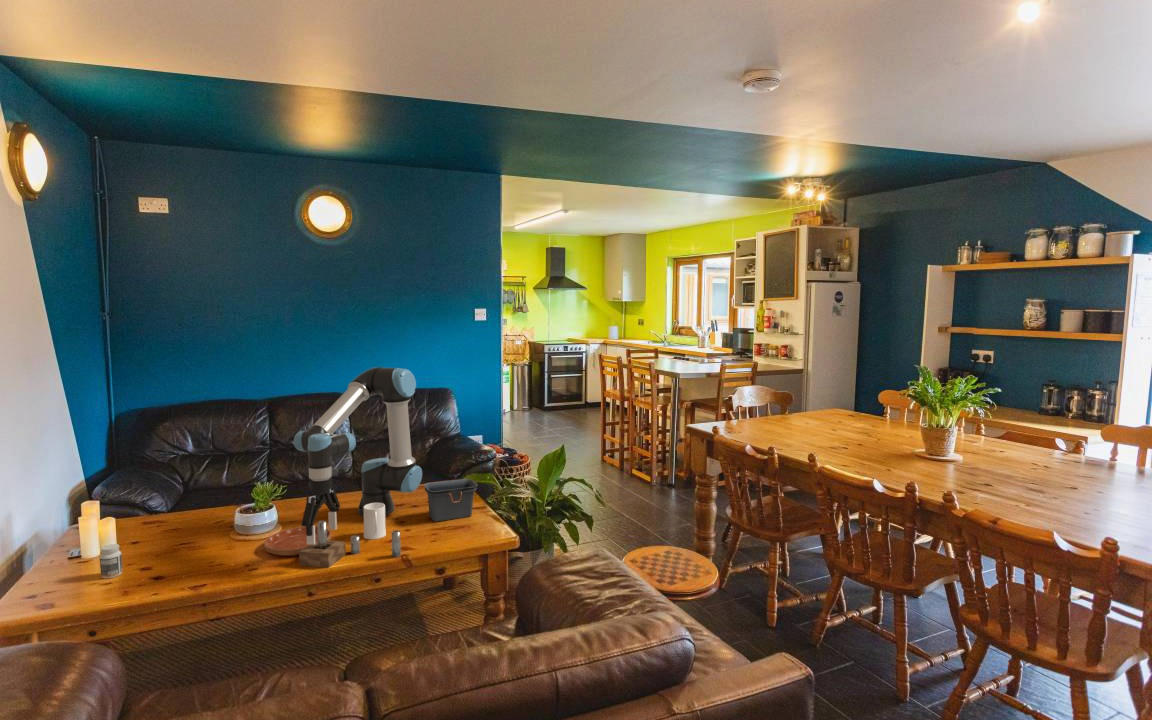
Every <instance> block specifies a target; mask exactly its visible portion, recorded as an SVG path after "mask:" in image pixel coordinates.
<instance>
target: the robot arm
mask: <svg viewBox="0 0 1152 720" xmlns="http://www.w3.org/2000/svg"><path fill="white" fill-rule="evenodd" d="M347 385H348V386H347V390H345V392H344V393H342V394H341V396H340V397H339V398H337V400H336V401H335V402H334V403H333V404H332V405H331V406H330V407H329V408H328V409H327V410H326V411H325V412H324V413H323V414H322V416H320V417H319V418H318V420H317V421H315V423H314V424H313V425H311V427H310V428H309V429H308V430H301V431H298V432H297V433H296V434H295V435H294V436H293V446H294V448H295V449H296V450H298V451H299V452H303V453H304V452H305V453H307V454H308V455H307V456H308V478H309V479H308V487H309V489H308V490H309V491H311V492H312V495H311V496H306V502H305V503H306V504H305V506H304V507H305V508H304V513H303V516H302V520H301V527H306V535H307V544H313V545H314V544H315V526H316V525H314V523H315V520H316V518H317V515H318V512H319V510H320V508H322V506H323V505H325V506H326V507H327V509H328V510H329V511H328V517H327V518H328V530H330V531H331V530H333V531H336V530H337V529H338V525H337V524H338V523H337V520H338V519H337V512H339V511H340V508H341V505H340V501H339V498H338V495H337V493H336V486H334V485H333V478H332V477H333V465H332V464H333V462H332V461H333V460H332V459H333V458H336V457H339V456H342V455H347V454H348V453H350V452H352V451H354V450H355V448H356V446H357V442H356V438H355V435H354V434H352V433H351V432H341V433H335V431H336V430H337V429H338V428H339V427H340V426H341V425H342V424H343V423H344V422H345V421H346V420H347V419H348V417H350V415H351V414H352V413H353V412H354V411H355V410H356V409H357V408H358V406H359V405H360V404H361V403H362V402H364V401H367V400H368V399H369V398H371V397H372V396H376V395H378V396H381V400H382V401H381V402H382V403H384V404H385V405H386V415H387V427H388V439H389V441H388V442H389V453H390V459H389V458H388V457H379V458H372V459H368V460H366V461H364V462H363V463H362V465H361V472H360V473H361V474H360V475H361V498H360V501H359V505H358V509H357V510H358V512H357V513H358V515H359V516H361V517H364V506H365V505H367V504H370V503H383V504H385V516H387V515H390V514H392V513H393V512H395V503H394V500H393V496H392V495H391V491H392V492H396V493H397V492H400V493H402V494H403V493H404V494H405V493H409V494H410V493H413V492H415V491H416V490H417V489H418V488H419V486H420V484H421V482H422V479H423V470H422V468H421V466H419V465H417V464H416V463H417V462H416V458H415V457H413V456H412V443H411V433H410V432H411V431H410V430H411V429H410V419H409V417H410V415H409V402H410V401H411V399H412V396H413V395H414V394H415V392H416V388H417V381H416V378H415V376H414V374H413V373H412V372H411V370H409V369H407V368H400V367H382V366H381V367H379V366H377V367H371V368H370V369H367V370H365V371H363V372H361V373H360V374H359V375H357V376H356V377H355V378H354V379H353V380H351V382H350V383H348V384H347Z"/></svg>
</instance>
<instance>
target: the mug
mask: <svg viewBox="0 0 1152 720" xmlns="http://www.w3.org/2000/svg"><path fill="white" fill-rule="evenodd" d="M386 535H387V532H386V515H385V504H383V503H370V504H367V505H365V506H364V516H363V538H364V539H366V540H378V539H382V538H384V537H386Z"/></svg>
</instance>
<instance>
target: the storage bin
mask: <svg viewBox="0 0 1152 720" xmlns="http://www.w3.org/2000/svg"><path fill="white" fill-rule="evenodd" d="M423 486H424V491H425V492H426V493H427V503H428V514H429V517H430V518H431V520H432V521H433V522H436V523H437V522H442V521H449V520H455V519H464V518H469V517H471V516H472V514H473V506H474V505H473V504H474V495H475V492H476V491H477V489H478V488H477V487H478V483H477V482H475V481H474V480H473V479H471V478H460V479H452V480H441V481H434V482H433V481H432V482H426V483H424V484H423Z"/></svg>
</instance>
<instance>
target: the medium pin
mask: <svg viewBox="0 0 1152 720" xmlns="http://www.w3.org/2000/svg"><path fill="white" fill-rule="evenodd" d="M401 549H402V547H401V531H400V529H399V530H397V529H396V530H393V531H391V557H392V558H399V557H401V551H402V550H401Z"/></svg>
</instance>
